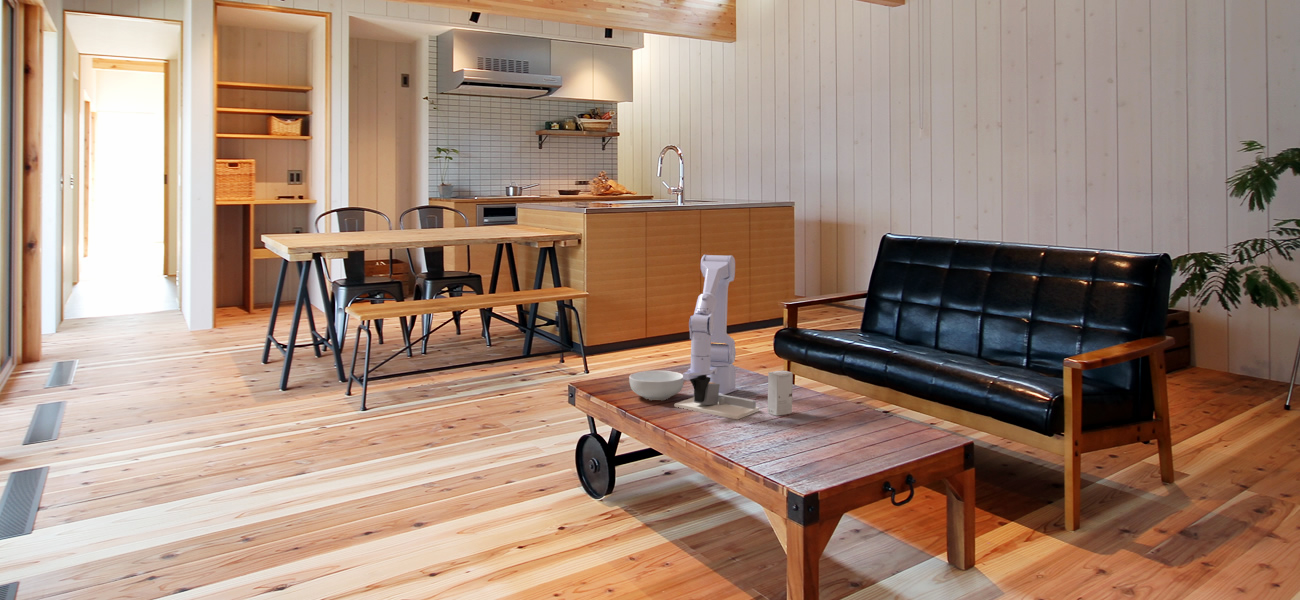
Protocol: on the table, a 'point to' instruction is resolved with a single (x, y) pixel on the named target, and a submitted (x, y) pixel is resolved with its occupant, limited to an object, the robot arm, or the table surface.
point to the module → (710, 394)
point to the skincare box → (780, 392)
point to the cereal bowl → (656, 384)
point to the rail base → (723, 406)
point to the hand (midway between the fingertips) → (699, 401)
